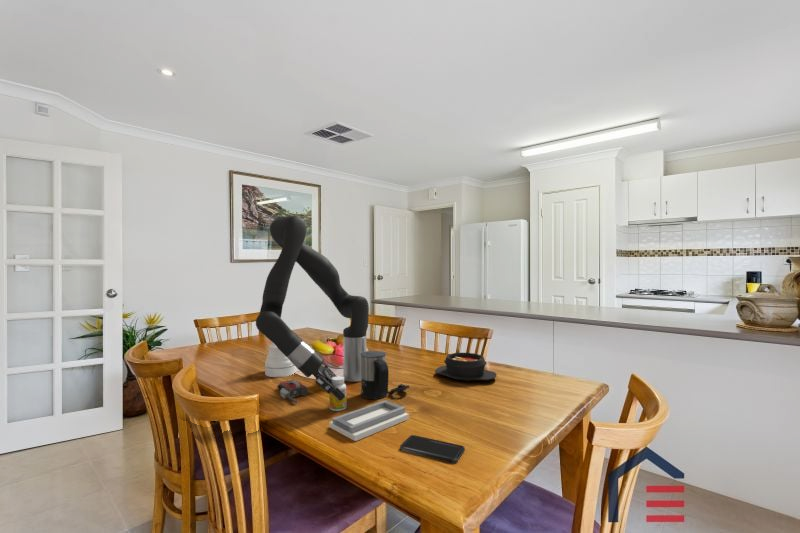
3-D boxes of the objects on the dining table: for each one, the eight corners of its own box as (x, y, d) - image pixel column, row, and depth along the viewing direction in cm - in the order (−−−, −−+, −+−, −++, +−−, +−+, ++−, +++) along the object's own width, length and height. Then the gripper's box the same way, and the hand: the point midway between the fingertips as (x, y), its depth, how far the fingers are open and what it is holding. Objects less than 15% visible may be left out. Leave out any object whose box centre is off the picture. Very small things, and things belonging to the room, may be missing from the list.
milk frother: (354, 395, 135) (354, 353, 135) (386, 384, 146) (386, 346, 146) (383, 405, 125) (382, 360, 125) (414, 393, 137) (414, 352, 136)
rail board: (382, 408, 123) (382, 398, 123) (408, 419, 114) (408, 409, 114) (329, 427, 109) (329, 416, 109) (355, 441, 100) (355, 429, 100)
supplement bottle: (327, 406, 124) (327, 376, 124) (344, 404, 126) (343, 374, 126) (331, 412, 119) (331, 381, 119) (348, 409, 121) (348, 379, 121)
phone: (455, 460, 89) (398, 446, 96) (455, 465, 89) (398, 451, 96) (466, 446, 96) (411, 434, 103) (466, 450, 96) (411, 438, 103)
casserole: (501, 375, 158) (501, 354, 158) (490, 388, 142) (490, 365, 141) (444, 367, 170) (444, 348, 169) (427, 379, 153) (427, 358, 153)
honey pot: (291, 377, 156) (291, 333, 156) (260, 377, 156) (260, 333, 156) (300, 368, 169) (300, 327, 169) (271, 368, 169) (271, 327, 169)
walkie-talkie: (271, 390, 141) (293, 407, 125) (271, 378, 141) (292, 393, 125) (294, 386, 146) (317, 401, 130) (294, 374, 146) (317, 388, 130)
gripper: (310, 355, 115) (350, 394, 116) (317, 345, 129) (353, 379, 130) (292, 373, 115) (333, 412, 116) (301, 361, 129) (337, 395, 130)
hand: (343, 394), depth 123 cm, fingers closed on supplement bottle, 5 cm apart
